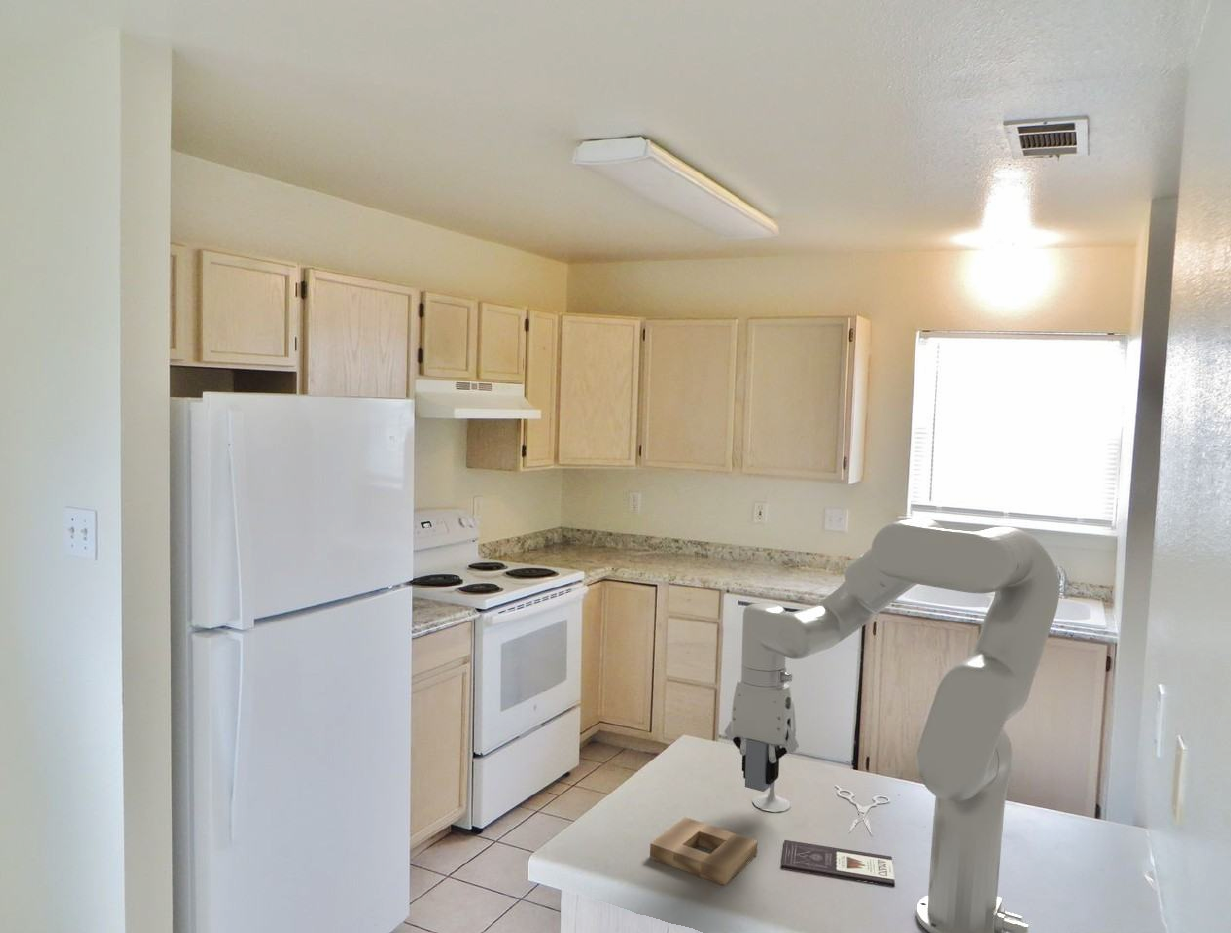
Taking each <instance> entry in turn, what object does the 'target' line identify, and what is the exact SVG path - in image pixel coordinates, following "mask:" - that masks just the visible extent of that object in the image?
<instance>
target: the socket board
mask: <svg viewBox="0 0 1231 933" xmlns="http://www.w3.org/2000/svg"><path fill="white" fill-rule="evenodd" d="M649 844H650V847H649V848H650V849H649V858H650V859H653V860H655V861H658V862H660V863H662V864H666V865H667V866H671V867H673V868H677V869H680V870H682V871H685V872H688V873H690V874H692V875H695V876H698V877H701V878H703V879H706V880H708V881H711V880H712V881H711V882H714V881H715V882H714V883H717V882H718V883H717V884H720V883H721V884H720V885H722V884H724V885H723V886H727V885H728V884H729V883H730V882H731V881H732V880H733V879H734V878H735V877H736V876H737V875H738V874H739V873H740V872H741V871H742V870H743V869H744V868H745V867H746V866H747V865H748V864H749V863H750V862H751V861H752V860H753V859H752V858H753V857H754V856H756V854H757V855H758V844H759V843H758V840H755V839H753V838H750V837H746V836H743V835H741V834H738V833H734V832H731V831H728V830H725V829H722V828H719V827H716V826H713V825H710V824H708V823H704V822H700V821H698V820H695V819H692V818H689V817H686V816H685V817H683V818H682V819H681V820H679V821H678V822H677V823H675V824H674V825H673V826H671V827H670V828H669V829H667V830H666V831H664V833H663V834H661V835H660V836H658V837H657V838H656V839H654V840H653V841H652V842H651V843H649ZM698 846H700V847H704V848H707V849H709V850H711V851H712V852H711V853H708V852H705V851H702V850H700V849H696V848H697V847H698ZM756 857H757V856H756ZM751 859H752V860H751ZM750 860H751V861H750ZM749 861H750V862H749ZM748 862H749V863H748ZM747 863H748V864H747ZM746 864H747V865H746ZM745 865H746V866H745ZM744 866H745V867H744ZM743 867H744V868H743ZM742 868H743V869H742ZM741 869H742V870H741ZM740 870H741V871H740ZM739 871H740V872H739ZM738 872H739V873H738ZM737 873H738V874H737ZM736 874H737V875H736ZM735 875H736V876H735ZM734 876H735V877H734ZM733 877H734V878H733ZM730 880H731V881H730ZM729 881H730V882H729ZM728 882H729V883H728ZM727 883H728V884H727ZM726 884H727V885H726Z"/></svg>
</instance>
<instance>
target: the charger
mask: <svg viewBox="0 0 1231 933" xmlns="http://www.w3.org/2000/svg"><path fill="white" fill-rule="evenodd" d="M768 761H769V752H768V744H767V743H763V742H759V741H755V740H751V739H746V761H745V778H744V788H746V789H750V790H755V791H758V792H762V793H765V792H766V791H767V790H768V789H770V787H771V786H772V785H773V784H774V785H775V782H773V783H772V784H770V785H768V784H766V764H767V762H768Z"/></svg>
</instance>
